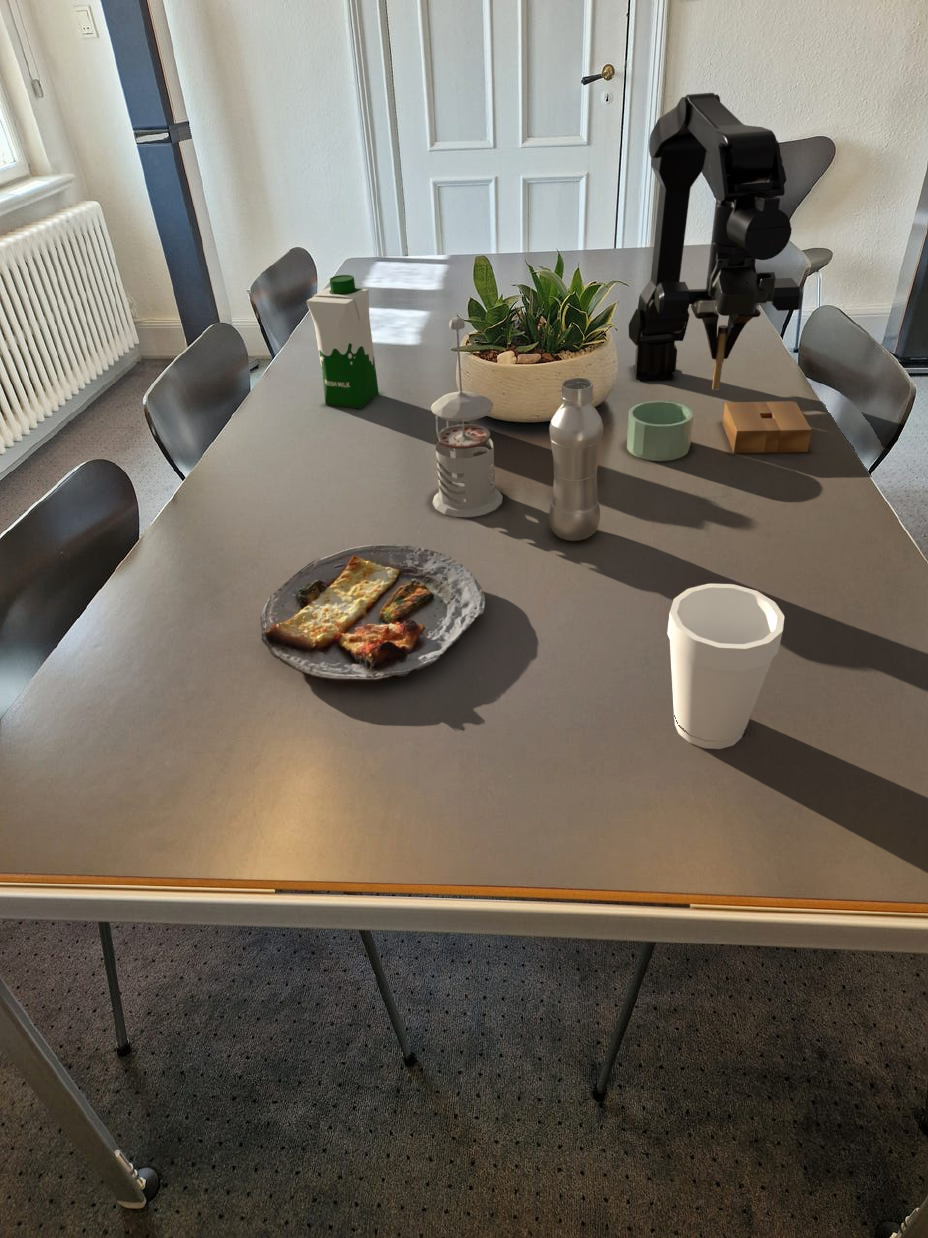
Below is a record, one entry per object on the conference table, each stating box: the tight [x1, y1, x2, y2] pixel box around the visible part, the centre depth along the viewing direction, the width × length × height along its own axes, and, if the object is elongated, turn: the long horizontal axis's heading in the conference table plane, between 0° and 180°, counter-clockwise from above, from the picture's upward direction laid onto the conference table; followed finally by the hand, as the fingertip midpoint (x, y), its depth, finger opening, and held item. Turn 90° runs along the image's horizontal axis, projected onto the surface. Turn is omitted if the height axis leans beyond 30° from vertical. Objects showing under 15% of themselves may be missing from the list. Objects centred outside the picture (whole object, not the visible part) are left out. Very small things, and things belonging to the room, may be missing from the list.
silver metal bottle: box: [548, 377, 604, 542], centre depth 103 cm, size 6×7×20 cm
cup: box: [626, 400, 695, 462], centre depth 126 cm, size 9×9×6 cm
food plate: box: [260, 543, 486, 684], centre depth 95 cm, size 25×23×4 cm
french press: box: [430, 317, 504, 518], centre depth 111 cm, size 10×12×25 cm
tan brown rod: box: [711, 324, 728, 391], centre depth 121 cm, size 1×1×9 cm
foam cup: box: [667, 583, 785, 750], centre depth 76 cm, size 10×9×13 cm
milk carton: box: [306, 274, 379, 410], centre depth 144 cm, size 9×9×20 cm
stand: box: [722, 400, 813, 454], centre depth 128 cm, size 10×10×4 cm
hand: (719, 358), depth 121 cm, fingers closed on tan brown rod, 1 cm apart
